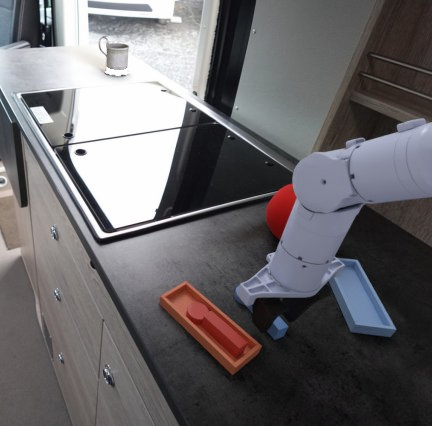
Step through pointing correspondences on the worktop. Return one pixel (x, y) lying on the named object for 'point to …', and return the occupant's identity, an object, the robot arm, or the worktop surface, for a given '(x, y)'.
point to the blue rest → (360, 301)
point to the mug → (116, 55)
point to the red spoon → (216, 328)
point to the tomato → (280, 210)
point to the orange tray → (177, 307)
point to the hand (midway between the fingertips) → (272, 321)
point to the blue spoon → (276, 328)
